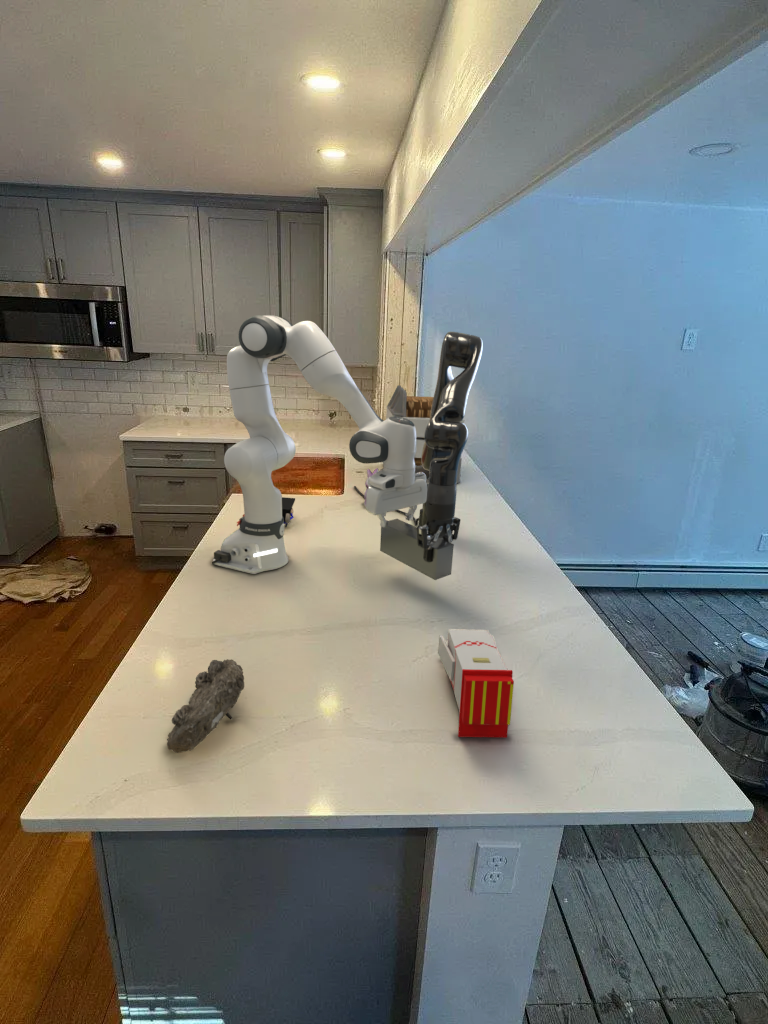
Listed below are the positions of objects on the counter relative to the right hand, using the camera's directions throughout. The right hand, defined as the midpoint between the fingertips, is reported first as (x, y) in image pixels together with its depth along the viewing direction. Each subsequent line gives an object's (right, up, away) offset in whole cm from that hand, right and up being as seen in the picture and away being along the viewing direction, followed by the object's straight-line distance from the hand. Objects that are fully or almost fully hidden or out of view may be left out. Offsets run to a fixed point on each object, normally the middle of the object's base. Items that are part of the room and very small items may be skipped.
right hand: (436, 558), depth 151 cm
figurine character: (-50, +8, +54) cm, 74 cm away
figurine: (-18, +15, +76) cm, 80 cm away
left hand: (-10, +9, +10) cm, 17 cm away
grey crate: (+3, +31, +124) cm, 128 cm away
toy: (+4, -25, -32) cm, 41 cm away
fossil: (-47, -27, -43) cm, 69 cm away
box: (-5, -2, +8) cm, 10 cm away
